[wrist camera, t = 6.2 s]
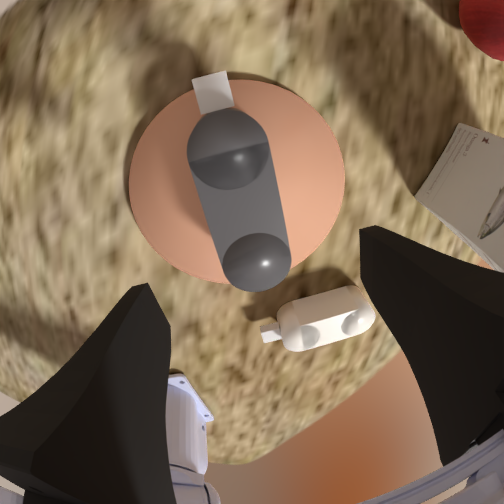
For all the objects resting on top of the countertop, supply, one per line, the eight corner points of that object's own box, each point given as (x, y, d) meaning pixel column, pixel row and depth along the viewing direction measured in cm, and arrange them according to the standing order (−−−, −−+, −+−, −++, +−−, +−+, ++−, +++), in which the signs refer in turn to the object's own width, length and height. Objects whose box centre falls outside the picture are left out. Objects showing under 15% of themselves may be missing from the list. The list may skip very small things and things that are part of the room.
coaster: (348, 252, 21) (351, 256, 21) (173, 296, 21) (172, 301, 21) (323, 63, 14) (327, 62, 14) (103, 120, 15) (99, 121, 14)
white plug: (361, 281, 23) (376, 303, 20) (361, 306, 24) (374, 329, 22) (255, 309, 23) (260, 336, 20) (262, 333, 24) (268, 359, 22)
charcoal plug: (282, 249, 20) (295, 282, 17) (228, 263, 20) (232, 298, 17) (242, 69, 14) (250, 63, 11) (176, 86, 14) (165, 85, 11)
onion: (495, 43, 13) (570, 53, 6) (463, 70, 14) (548, 85, 8) (460, -18, 10) (536, -27, 3) (422, 2, 12) (508, -11, 5)
